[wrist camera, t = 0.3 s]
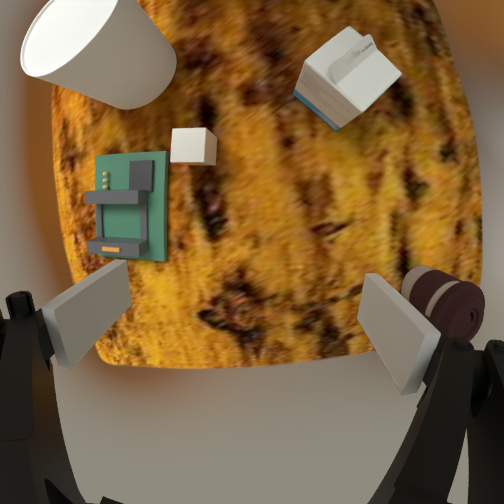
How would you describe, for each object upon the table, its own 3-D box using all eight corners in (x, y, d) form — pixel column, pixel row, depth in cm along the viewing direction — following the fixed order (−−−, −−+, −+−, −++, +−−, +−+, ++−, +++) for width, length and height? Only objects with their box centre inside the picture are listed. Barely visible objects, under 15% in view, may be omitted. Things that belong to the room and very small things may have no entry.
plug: (189, 138, 37) (172, 128, 29) (217, 137, 37) (205, 127, 29) (188, 166, 38) (170, 163, 30) (215, 166, 38) (203, 163, 30)
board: (101, 156, 37) (82, 154, 32) (169, 151, 37) (155, 148, 32) (102, 253, 42) (85, 262, 36) (167, 258, 41) (155, 269, 36)
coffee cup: (387, 311, 42) (428, 361, 28) (399, 254, 40) (452, 289, 25) (431, 310, 42) (476, 353, 27) (444, 258, 39) (499, 288, 25)
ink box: (335, 133, 36) (368, 112, 23) (291, 93, 34) (304, 55, 22) (370, 97, 34) (411, 68, 21) (328, 59, 33) (353, 16, 20)
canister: (106, 47, 32) (37, 2, 13) (179, 30, 32) (132, -42, 13) (98, 116, 36) (10, 93, 16) (174, 102, 35) (106, 51, 16)
